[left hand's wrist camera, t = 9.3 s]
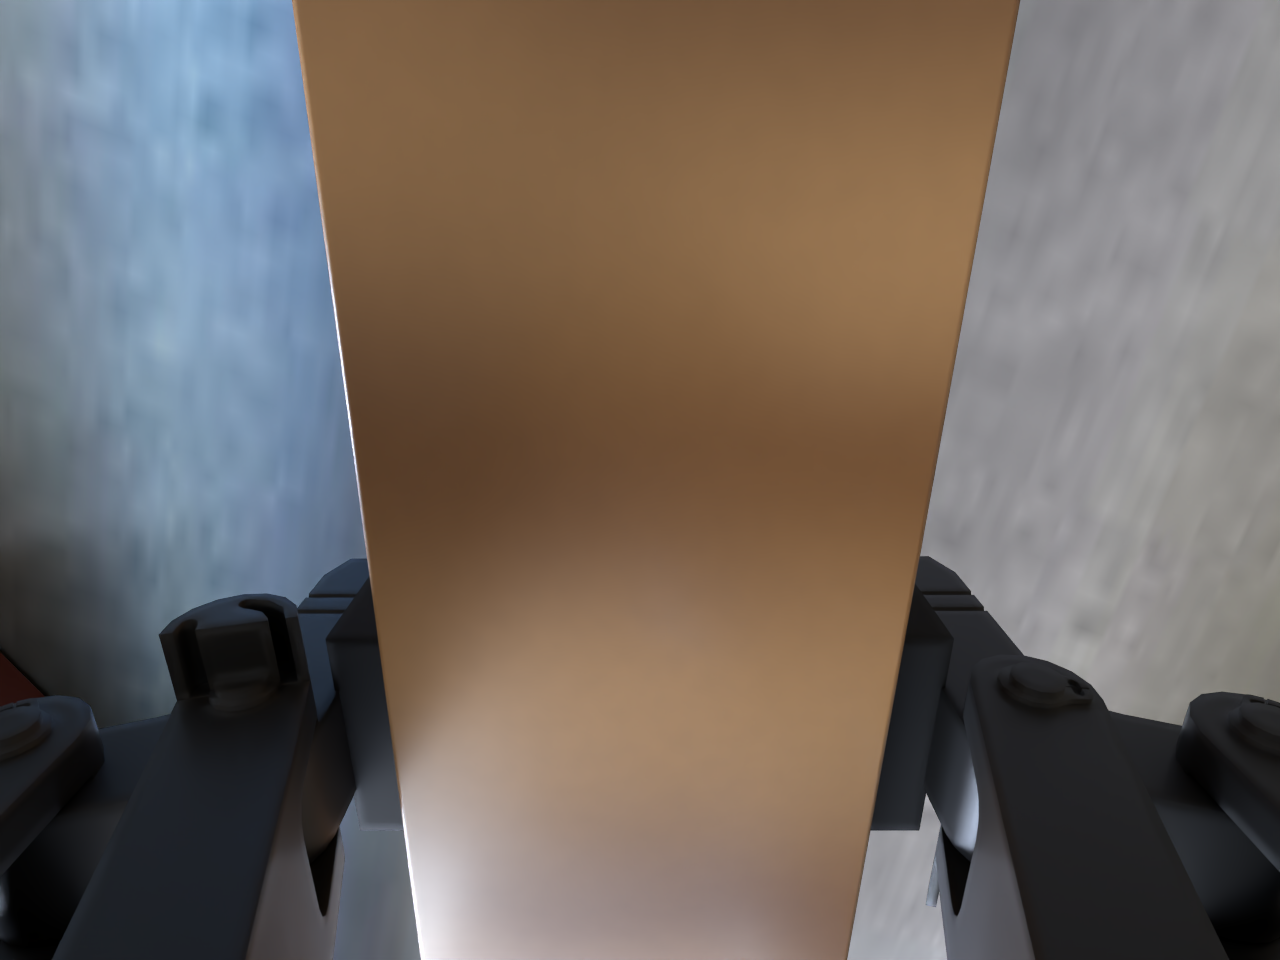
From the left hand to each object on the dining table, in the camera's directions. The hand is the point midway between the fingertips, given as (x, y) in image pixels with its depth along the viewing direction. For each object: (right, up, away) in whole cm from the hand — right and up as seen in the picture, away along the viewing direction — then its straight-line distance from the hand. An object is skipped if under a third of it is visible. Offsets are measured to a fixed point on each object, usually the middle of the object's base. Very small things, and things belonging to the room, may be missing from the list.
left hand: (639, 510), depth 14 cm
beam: (0, +23, -9) cm, 25 cm away
